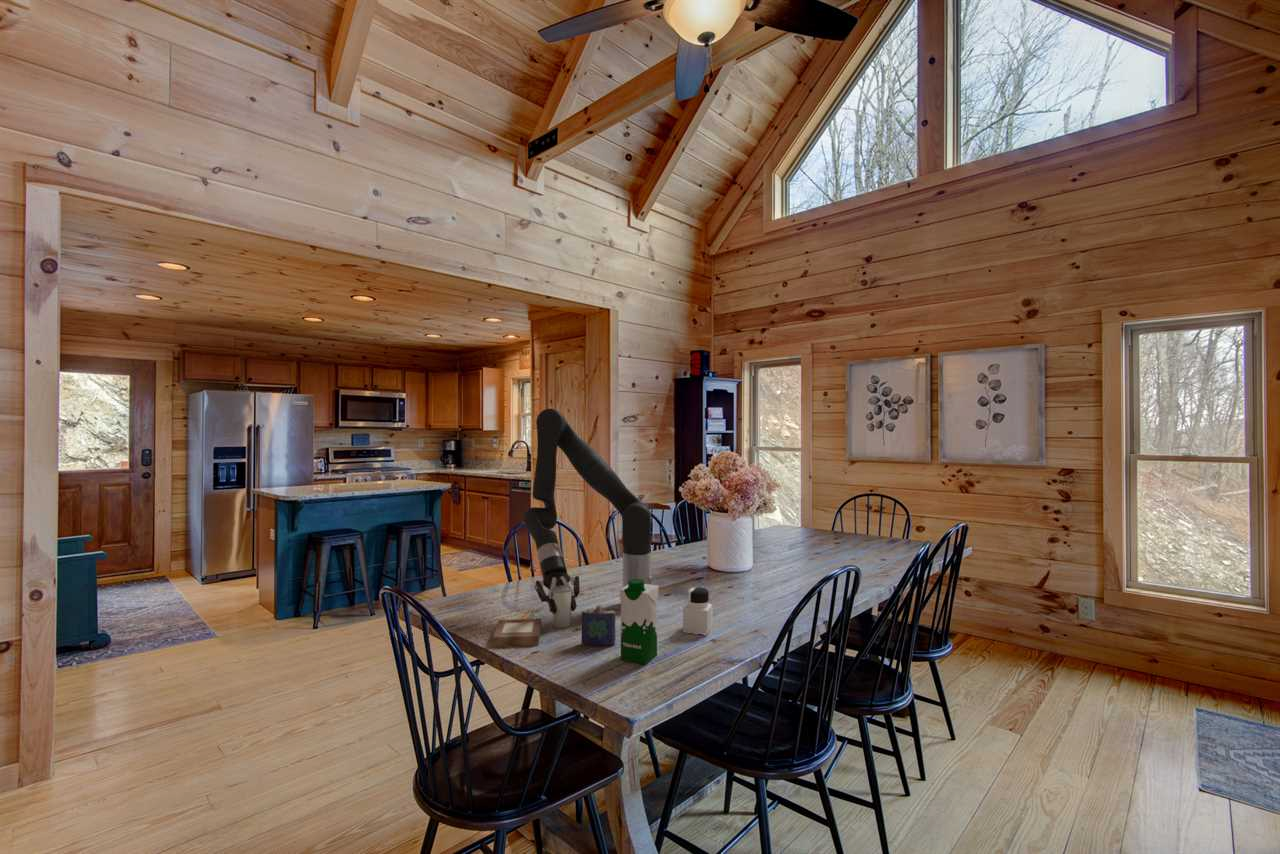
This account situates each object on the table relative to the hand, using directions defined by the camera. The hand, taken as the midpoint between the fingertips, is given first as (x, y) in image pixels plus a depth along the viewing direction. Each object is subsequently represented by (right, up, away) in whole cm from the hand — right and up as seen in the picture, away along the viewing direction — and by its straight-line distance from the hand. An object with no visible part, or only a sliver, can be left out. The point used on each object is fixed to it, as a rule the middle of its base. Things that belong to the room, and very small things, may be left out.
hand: (564, 611), depth 172 cm
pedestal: (-12, -5, -8) cm, 15 cm away
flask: (+11, -5, -13) cm, 18 cm away
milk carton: (+22, -5, -22) cm, 31 cm away
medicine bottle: (+39, -5, -2) cm, 39 cm away
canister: (-1, -5, +2) cm, 5 cm away
